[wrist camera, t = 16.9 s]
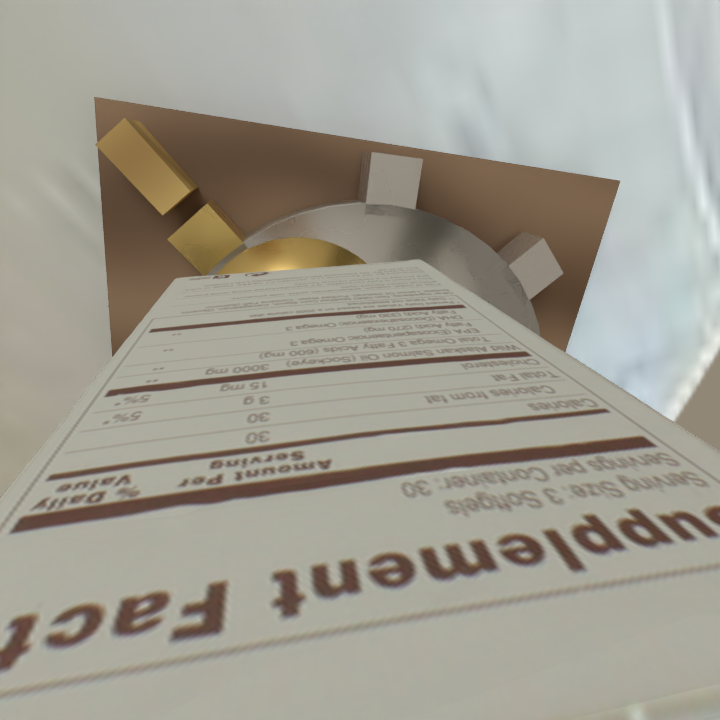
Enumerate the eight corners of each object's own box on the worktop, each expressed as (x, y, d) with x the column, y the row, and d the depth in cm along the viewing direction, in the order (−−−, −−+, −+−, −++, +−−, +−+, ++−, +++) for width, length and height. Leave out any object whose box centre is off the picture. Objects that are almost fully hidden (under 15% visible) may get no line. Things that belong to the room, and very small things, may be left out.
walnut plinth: (490, 529, 28) (518, 576, 25) (134, 540, 24) (115, 598, 21) (597, 179, 21) (656, 183, 18) (108, 101, 17) (71, 89, 13)
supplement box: (419, 456, 17) (731, 1066, 6) (208, 483, 16) (60, 1323, 4) (427, 251, 14) (1121, 662, 3) (168, 266, 13) (-582, 1109, 1)
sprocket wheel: (618, 395, 24) (722, 465, 18) (328, 608, 26) (345, 727, 21) (403, 26, 16) (475, -40, 10) (10, 380, 18) (-100, 478, 13)
